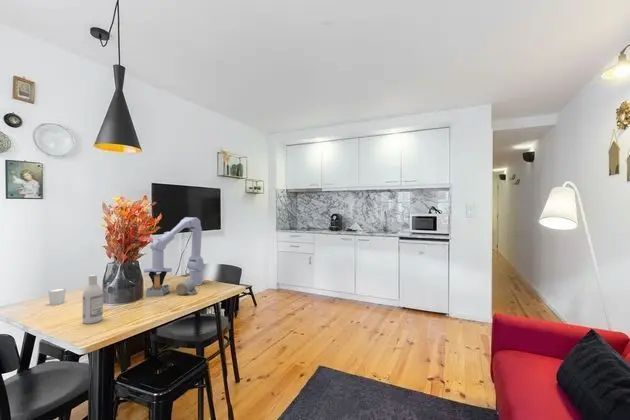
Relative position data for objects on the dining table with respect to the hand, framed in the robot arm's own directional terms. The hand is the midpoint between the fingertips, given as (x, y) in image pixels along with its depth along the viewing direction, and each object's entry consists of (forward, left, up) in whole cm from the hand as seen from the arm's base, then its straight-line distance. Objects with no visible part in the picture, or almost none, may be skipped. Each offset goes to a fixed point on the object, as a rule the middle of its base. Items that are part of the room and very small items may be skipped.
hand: (157, 284), depth 168 cm
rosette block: (0, 0, -5) cm, 5 cm away
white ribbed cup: (+12, -44, -6) cm, 46 cm away
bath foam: (+40, -11, -6) cm, 42 cm away
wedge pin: (-1, 0, -2) cm, 2 cm away
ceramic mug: (+1, +17, -6) cm, 18 cm away
